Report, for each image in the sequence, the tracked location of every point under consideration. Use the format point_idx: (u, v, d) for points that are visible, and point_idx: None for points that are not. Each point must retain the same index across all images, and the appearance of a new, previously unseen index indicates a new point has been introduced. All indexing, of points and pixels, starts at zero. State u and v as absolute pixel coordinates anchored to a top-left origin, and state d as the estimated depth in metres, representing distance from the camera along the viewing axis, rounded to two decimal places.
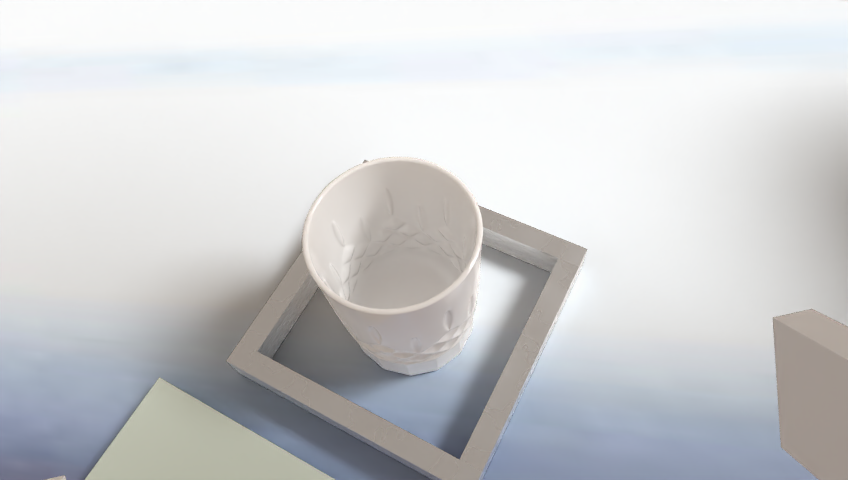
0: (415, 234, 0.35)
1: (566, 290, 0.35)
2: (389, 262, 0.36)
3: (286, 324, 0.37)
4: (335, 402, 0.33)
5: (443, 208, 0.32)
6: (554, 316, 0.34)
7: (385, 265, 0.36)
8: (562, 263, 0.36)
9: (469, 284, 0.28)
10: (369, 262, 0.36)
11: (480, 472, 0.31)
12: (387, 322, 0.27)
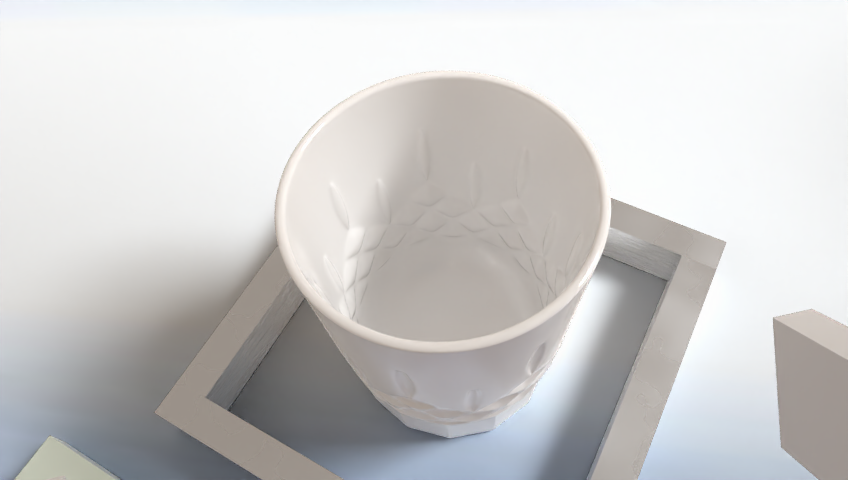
0: (460, 214, 0.22)
1: (700, 306, 0.22)
2: (417, 258, 0.23)
3: (255, 352, 0.23)
4: None
5: (517, 166, 0.19)
6: (684, 348, 0.21)
7: (411, 263, 0.23)
8: (689, 263, 0.23)
9: (582, 295, 0.15)
10: (386, 257, 0.23)
11: None
12: (432, 366, 0.14)
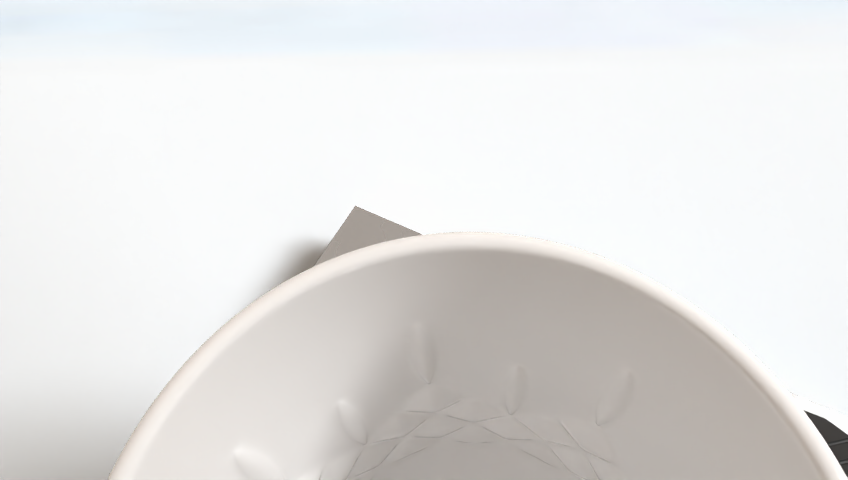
0: (486, 420, 0.13)
1: None
2: (414, 475, 0.14)
3: None
4: None
5: (603, 389, 0.10)
6: None
7: None
8: None
9: None
10: None
11: None
12: None
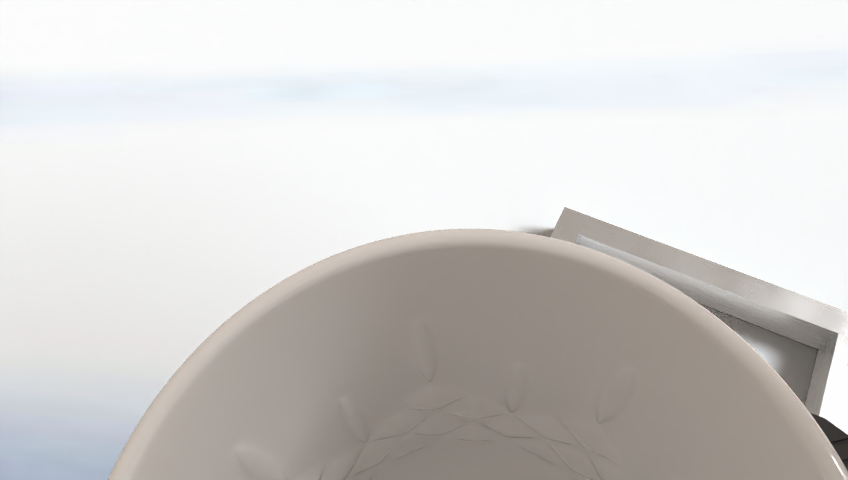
0: (487, 417, 0.13)
1: None
2: (415, 473, 0.14)
3: None
4: None
5: (604, 386, 0.10)
6: None
7: None
8: (845, 340, 0.29)
9: None
10: None
11: None
12: None
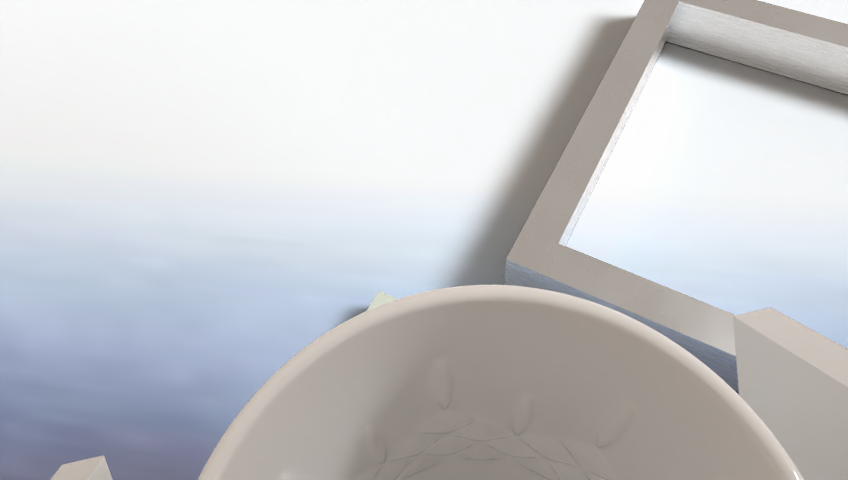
0: (493, 439, 0.14)
1: None
2: None
3: (580, 209, 0.22)
4: (727, 325, 0.18)
5: (605, 417, 0.11)
6: None
7: None
8: None
9: None
10: None
11: None
12: None
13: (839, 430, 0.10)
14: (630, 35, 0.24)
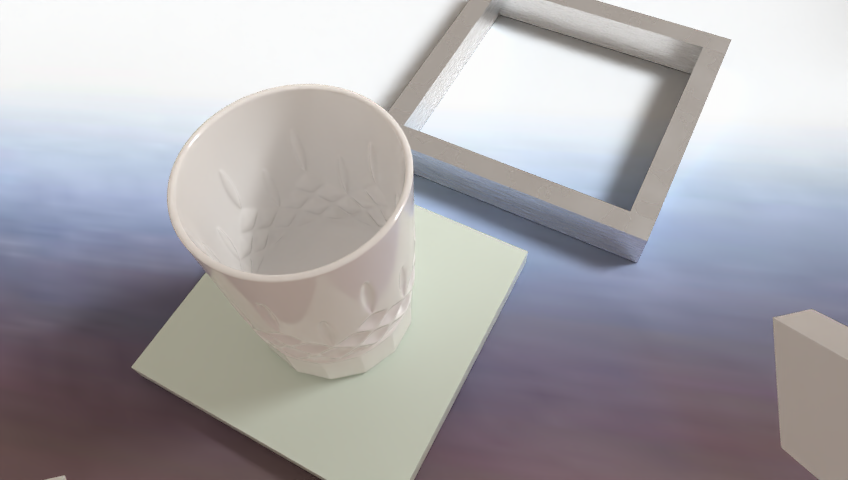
0: (338, 199, 0.28)
1: (716, 72, 0.34)
2: (307, 236, 0.29)
3: (424, 111, 0.36)
4: (493, 166, 0.32)
5: (369, 157, 0.25)
6: (707, 94, 0.34)
7: (302, 240, 0.29)
8: (708, 51, 0.35)
9: (395, 246, 0.21)
10: (279, 235, 0.28)
11: (653, 221, 0.30)
12: (278, 295, 0.20)
13: None
14: (466, 7, 0.38)
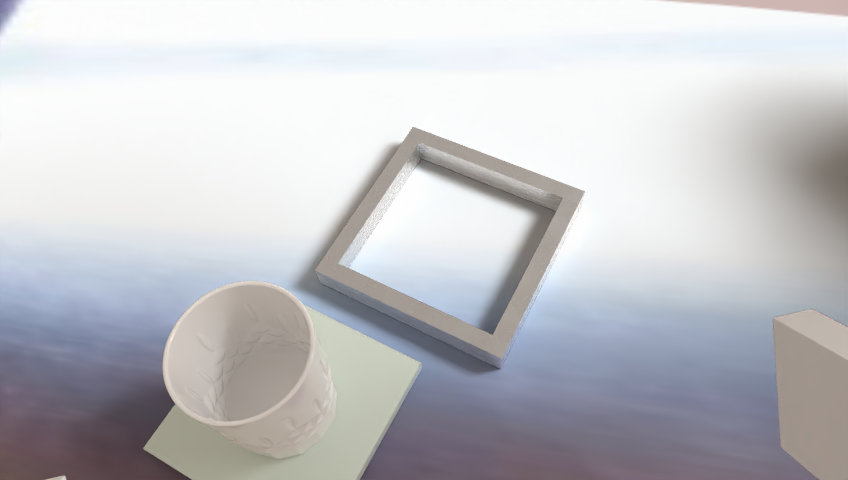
0: (282, 335, 0.40)
1: (569, 220, 0.47)
2: (263, 357, 0.42)
3: (356, 247, 0.48)
4: (399, 297, 0.44)
5: (296, 320, 0.37)
6: (560, 238, 0.46)
7: (259, 360, 0.41)
8: (566, 201, 0.47)
9: (304, 395, 0.34)
10: (243, 359, 0.41)
11: (508, 343, 0.42)
12: (230, 430, 0.32)
13: None
14: (391, 161, 0.50)
